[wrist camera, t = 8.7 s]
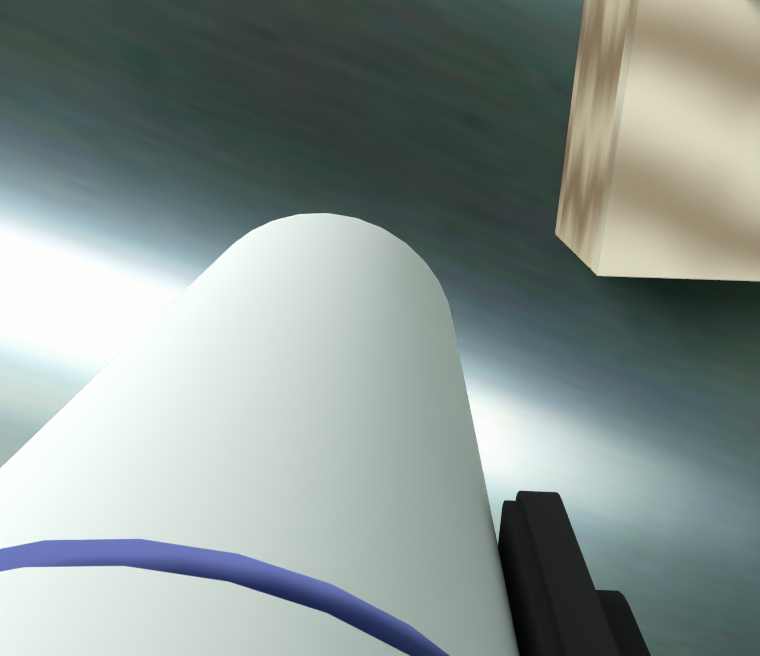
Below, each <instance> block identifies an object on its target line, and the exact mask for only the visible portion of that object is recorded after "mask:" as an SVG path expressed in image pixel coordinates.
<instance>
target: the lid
mask: <svg viewBox="0 0 760 656" xmlns="http://www.w3.org/2000/svg"><path fill="white" fill-rule="evenodd" d="M591 270H592V271H593V272H594V273H595V274H596V275H597V276H619V277H649V278H679V279H709V280H739V281H760V0H630V7H629V14H628V21H627V27H626V34H625V41H624V48H623V55H622V61H621V68H620V75H619V82H618V89H617V95H616V102H615V109H614V116H613V123H612V129H611V136H610V143H609V150H608V157H607V163H606V170H605V177H604V184H603V191H602V197H601V204H600V211H599V218H598V225H597V231H596V238H595V245H594V252H593V259H592V265H591Z"/></svg>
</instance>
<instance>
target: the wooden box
mask: <svg viewBox="0 0 760 656" xmlns="http://www.w3.org/2000/svg"><path fill="white" fill-rule="evenodd" d="M629 7H630V0H584V6H583V14H582V22H581V30H580V38H579V46H578V54H577V62H576V70H575V78H574V86H573V94H572V102H571V110H570V118H569V126H568V135H567V143H566V151H565V159H564V167H563V175H562V183H561V191H560V199H559V207H558V215H557V223H556V231H555V234H556V235H557V236H558V237H559V238H560V239H561V240H562V241H563V242H564V243H565V244H566V245H567V246H568V247H569V248H570V249H571V250H572V251H573V252H574V253H575V254H576V255H577V256H578V257H579V258H580V259H581V260H582V261H583V262H584V263H585V264H586V265H587V266H588V267H589V268H591V265H592V259H593V252H594V245H595V238H596V231H597V225H598V218H599V211H600V204H601V197H602V191H603V184H604V177H605V170H606V163H607V157H608V150H609V143H610V136H611V129H612V123H613V116H614V109H615V102H616V95H617V89H618V82H619V75H620V68H621V61H622V55H623V48H624V41H625V34H626V27H627V21H628V14H629Z"/></svg>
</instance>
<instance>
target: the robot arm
mask: <svg viewBox="0 0 760 656" xmlns="http://www.w3.org/2000/svg"><path fill="white" fill-rule="evenodd" d="M498 549H499V554H500V559H501V564H502V569H503V574H504V579H505V584H506V589H507V594H508V599H509V604H510V609H511V614H512V619H513V624H514V629H515V634H516V639H517V644H518V649H519V654H520V656H651V655H650V653H649V651H648V648H647V646H646V644H645V641H644V639H643V637H642V634H641V632H640V630H639V627H638V625H637V623H636V620H635V618H634V616H633V613H632V611H631V609H630V606H629V604H628V602H627V600H626V599H625V597H624V595H623V594H621V593H620V592H619V591H609V590H595V587H594V585H593V582H592V579H591V577H590V574H589V571H588V569H587V566H586V563H585V561H584V558H583V555H582V553H581V550H580V547H579V545H578V542H577V539H576V537H575V534H574V531H573V529H572V526H571V523H570V521H569V518H568V515H567V513H566V510H565V507H564V505H563V502H562V499H561V497H560V495H559V494H558V493H557V492H535V491H519V492H518V493H517V496H516V501H507V500H505V501H504V503H503V507H502V514H501V523H500V532H499V541H498Z"/></svg>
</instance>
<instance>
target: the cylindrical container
mask: <svg viewBox="0 0 760 656" xmlns="http://www.w3.org/2000/svg"><path fill="white" fill-rule="evenodd" d="M0 656H520V654H519V649H518V644H517V639H516V634H515V629H514V624H513V619H512V614H511V609H510V604H509V599H508V594H507V589H506V584H505V579H504V574H503V569H502V564H501V559H500V554H499V549H498V544H497V540H496V535H495V530H494V525H493V520H492V515H491V510H490V505H489V500H488V495H487V490H486V485H485V480H484V475H483V470H482V465H481V460H480V455H479V450H478V445H477V440H476V435H475V430H474V425H473V420H472V415H471V410H470V405H469V400H468V396H467V391H466V386H465V381H464V376H463V371H462V366H461V361H460V356H459V351H458V346H457V341H456V336H455V331H454V326H453V322H452V317H451V313H450V308H449V304H448V301H447V299H446V296H445V294H444V292H443V290H442V287H441V285H440V283H439V281H438V280H437V278H436V277H435V275H434V274H433V272H432V271H431V270H430V268H429V267H428V265H427V264H426V262H425V261H424V260H423V259H422V258H421V257H420V256H419V255H418V254H417V253H416V252H415V251H413V250H412V249H411V248H410V247H409V246H408V245H407V244H406V243H405V242H403V241H402V240H400V239H399V238H397V237H395V236H394V235H392V234H391V233H389V232H388V231H386V230H384V229H383V228H381V227H378V226H375V225H373V224H370V223H368V222H365V221H362V220H360V219H357V218H353V217H347V216H341V215H335V214H329V213H319V214H298V215H294V216H290V217H286V218H282V219H278V220H274V221H271V222H269V223H267V224H265V225H263V226H261V227H259V228H256V229H254V230H252V231H250V232H249V233H248V234H246V235H245V236H244V237H242V238H241V239H240V240H238V241H237V242H235V243H234V244H233V245H232V246H230V247H229V248H228V249H227V250H226V251H225V252H224V253H223V254H222V255H221V256H220V257H219V258H218V259H217V260H216V261H215V262H214V263H213V264H212V265H211V266H210V267H209V268H208V269H207V270H206V271H205V272H204V273H202V274H201V275H200V276H199V277H198V278H197V279H196V280H195V281H194V282H193V283H192V284H191V285H190V286H189V287H188V288H187V289H186V290H185V291H184V292H183V293H182V294H181V295H180V296H179V297H178V298H177V299H176V300H174V301H173V302H172V303H171V304H170V305H169V306H168V307H167V308H166V309H165V310H164V311H163V312H162V313H161V314H160V315H159V316H158V317H157V318H156V319H155V320H154V321H153V322H152V323H151V324H150V325H149V326H148V327H146V328H145V329H144V330H143V331H142V332H141V333H140V334H139V335H138V336H137V337H136V338H135V339H134V340H133V341H132V342H131V343H130V344H129V345H128V346H127V347H126V348H125V349H124V350H123V351H122V352H121V353H120V354H118V355H117V356H116V357H115V358H114V359H113V360H112V361H111V362H110V363H109V364H108V365H107V366H106V367H105V368H104V369H103V370H102V371H101V372H100V373H99V374H98V375H97V376H96V377H95V378H94V379H93V380H92V381H90V382H89V383H88V384H87V385H86V386H85V387H84V388H83V389H82V390H81V391H80V392H79V393H78V394H77V395H76V396H75V397H74V398H73V399H72V400H71V401H70V402H69V403H68V404H67V405H66V406H65V407H64V408H62V409H61V410H60V411H59V412H58V413H57V414H56V415H55V416H54V417H53V418H52V419H51V420H50V421H49V422H48V423H47V424H46V425H45V426H44V427H43V428H42V429H41V430H40V431H39V432H38V433H37V434H36V435H34V436H33V437H32V438H31V439H30V440H29V441H28V442H27V443H26V444H25V445H24V446H23V447H22V448H21V449H20V450H19V451H18V452H17V453H16V454H15V455H14V456H13V457H12V458H11V459H10V460H9V461H8V462H6V463H5V464H4V465H3V466H2V467H1V468H0Z"/></svg>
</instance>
